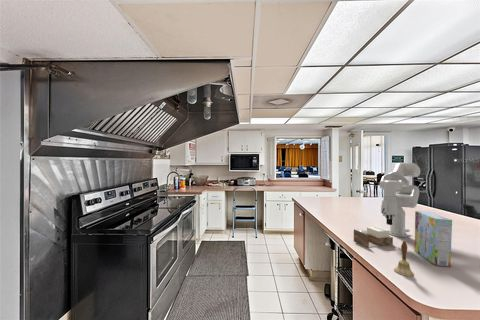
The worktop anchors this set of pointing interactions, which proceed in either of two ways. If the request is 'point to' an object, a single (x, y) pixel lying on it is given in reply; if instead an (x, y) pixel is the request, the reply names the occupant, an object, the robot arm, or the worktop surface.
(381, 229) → the carton
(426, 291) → the worktop surface
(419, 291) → the worktop surface
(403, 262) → the hand bell
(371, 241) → the podium
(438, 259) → the snack box
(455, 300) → the worktop surface
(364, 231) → the white flat piece
